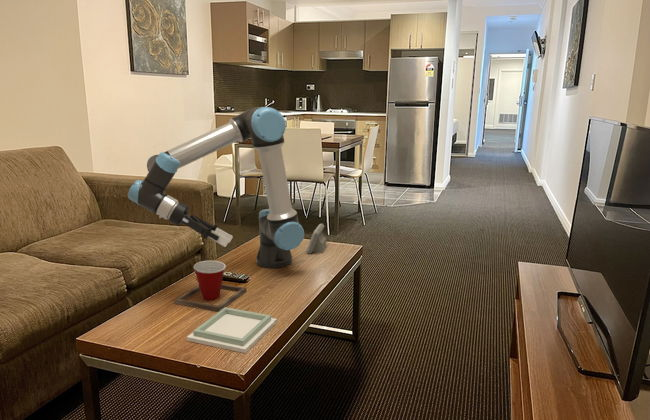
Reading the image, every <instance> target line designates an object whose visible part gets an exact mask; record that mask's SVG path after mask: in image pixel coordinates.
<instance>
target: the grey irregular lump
mask: <svg viewBox="0 0 650 420" xmlns="http://www.w3.org/2000/svg"><path fill="white" fill-rule="evenodd" d="M324 228H325V225H324V223H319V224H318V226H317V227H316V228H315V229H314V230H313V233H312V235H311V238H310V240H309V243H308V246H307V248H306V254H308V255H310V254H312V253H320V254H323V253H324V251H325V249H326V248H327V238H326V236H324V233H323V231H324Z"/></svg>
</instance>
